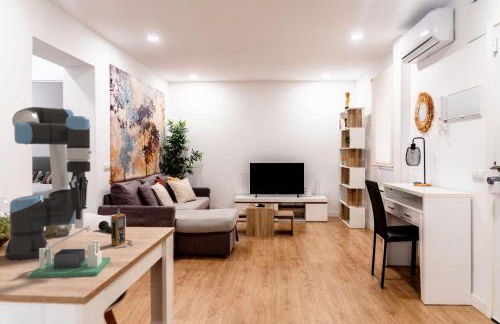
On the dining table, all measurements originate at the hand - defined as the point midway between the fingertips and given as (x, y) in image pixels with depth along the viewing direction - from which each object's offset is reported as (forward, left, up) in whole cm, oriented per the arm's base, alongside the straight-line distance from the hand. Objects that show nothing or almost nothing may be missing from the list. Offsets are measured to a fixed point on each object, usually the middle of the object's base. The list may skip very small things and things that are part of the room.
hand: (79, 228), depth 132 cm
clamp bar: (-4, 0, -5) cm, 6 cm away
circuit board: (-2, 0, -14) cm, 14 cm away
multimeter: (+9, +35, -15) cm, 39 cm away
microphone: (-6, +63, -15) cm, 65 cm away
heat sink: (-3, 0, -13) cm, 13 cm away
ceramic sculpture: (-28, +55, -15) cm, 64 cm away
